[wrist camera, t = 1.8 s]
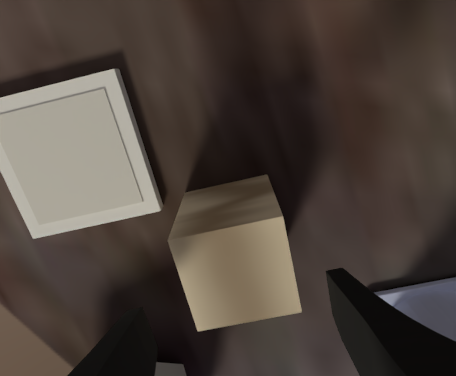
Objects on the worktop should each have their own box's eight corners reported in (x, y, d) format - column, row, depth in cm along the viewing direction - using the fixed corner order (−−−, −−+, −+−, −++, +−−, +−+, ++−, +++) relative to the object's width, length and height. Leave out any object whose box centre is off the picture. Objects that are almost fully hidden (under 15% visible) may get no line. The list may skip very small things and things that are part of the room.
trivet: (119, 68, 17) (113, 68, 16) (163, 205, 20) (160, 211, 19) (-20, 104, 18) (-33, 105, 17) (40, 232, 20) (32, 239, 20)
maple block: (267, 174, 19) (283, 216, 14) (281, 247, 21) (301, 312, 15) (185, 192, 20) (167, 240, 14) (205, 262, 21) (197, 331, 16)
